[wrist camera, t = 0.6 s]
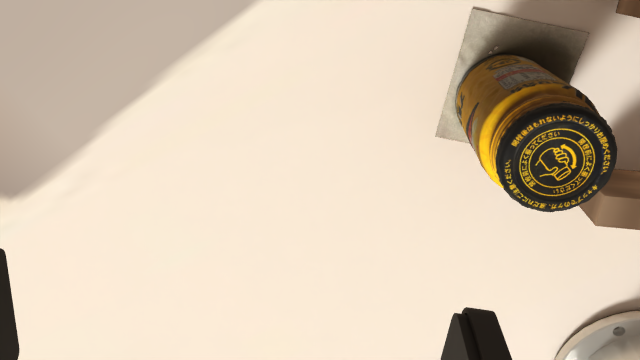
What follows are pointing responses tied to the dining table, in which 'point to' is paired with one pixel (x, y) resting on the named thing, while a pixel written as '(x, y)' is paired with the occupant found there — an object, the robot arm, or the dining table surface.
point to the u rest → (618, 178)
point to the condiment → (528, 112)
